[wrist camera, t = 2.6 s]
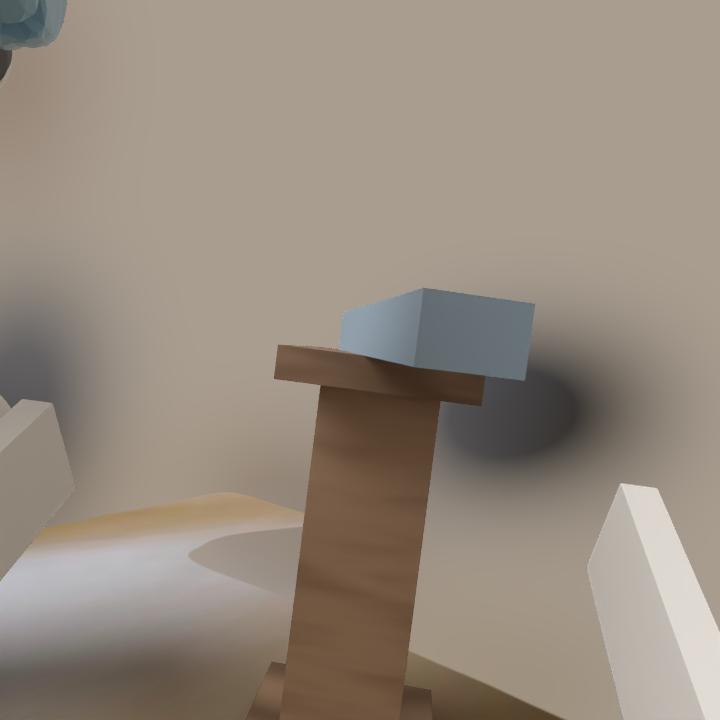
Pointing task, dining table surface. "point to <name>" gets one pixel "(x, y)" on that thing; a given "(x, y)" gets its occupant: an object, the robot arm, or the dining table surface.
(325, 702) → the stand
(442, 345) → the bar
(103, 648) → the dining table surface
